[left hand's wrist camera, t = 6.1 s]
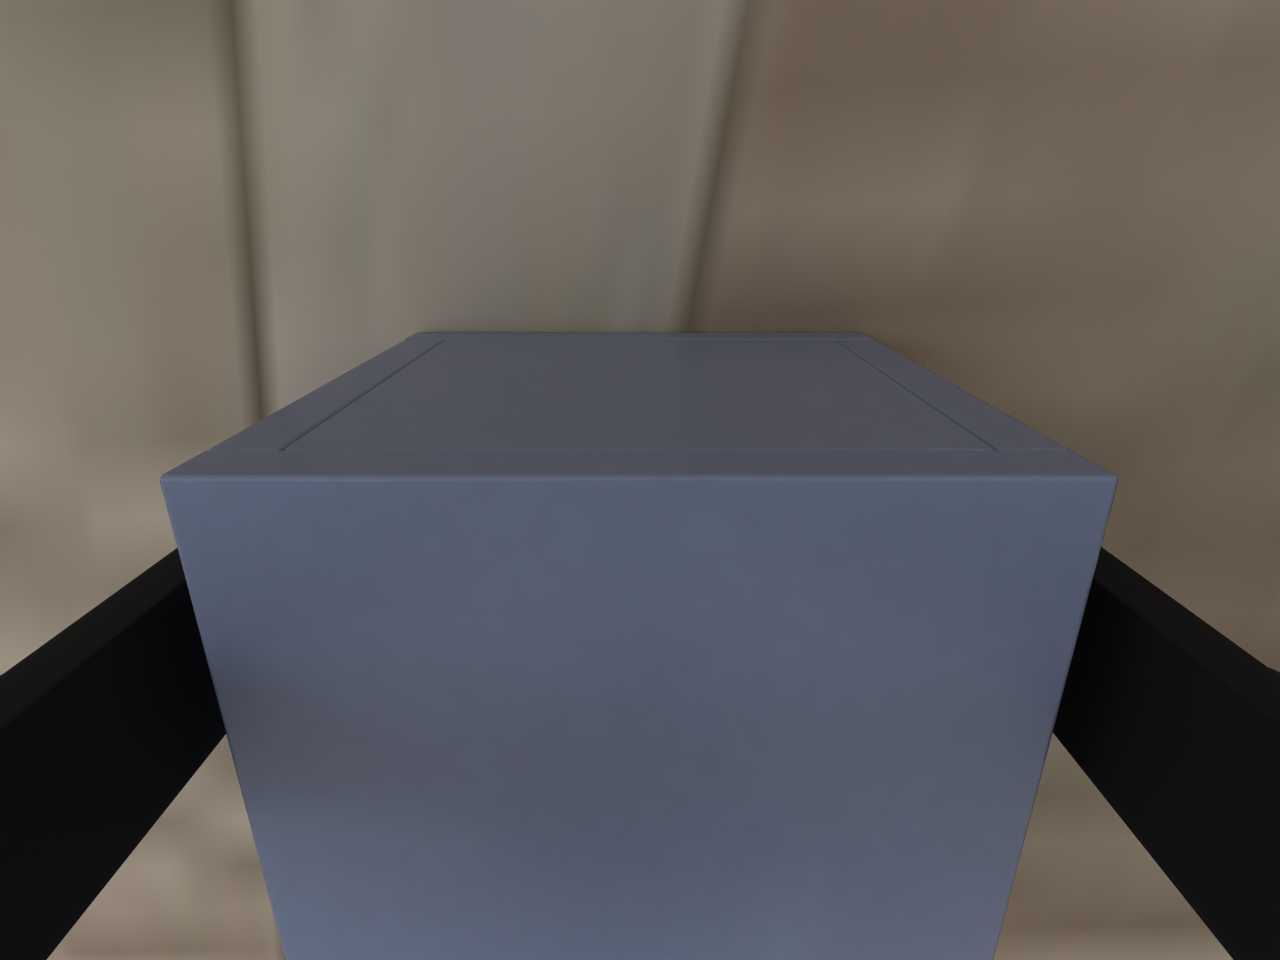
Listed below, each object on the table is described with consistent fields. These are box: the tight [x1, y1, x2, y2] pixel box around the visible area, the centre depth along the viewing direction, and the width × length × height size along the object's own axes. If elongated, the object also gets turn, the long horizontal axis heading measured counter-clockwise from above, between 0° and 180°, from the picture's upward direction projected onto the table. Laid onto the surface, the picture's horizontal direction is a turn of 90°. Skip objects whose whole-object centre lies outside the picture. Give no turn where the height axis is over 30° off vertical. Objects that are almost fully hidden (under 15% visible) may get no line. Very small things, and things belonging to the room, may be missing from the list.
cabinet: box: [160, 333, 1118, 960], centre depth 15 cm, size 16×11×10 cm
